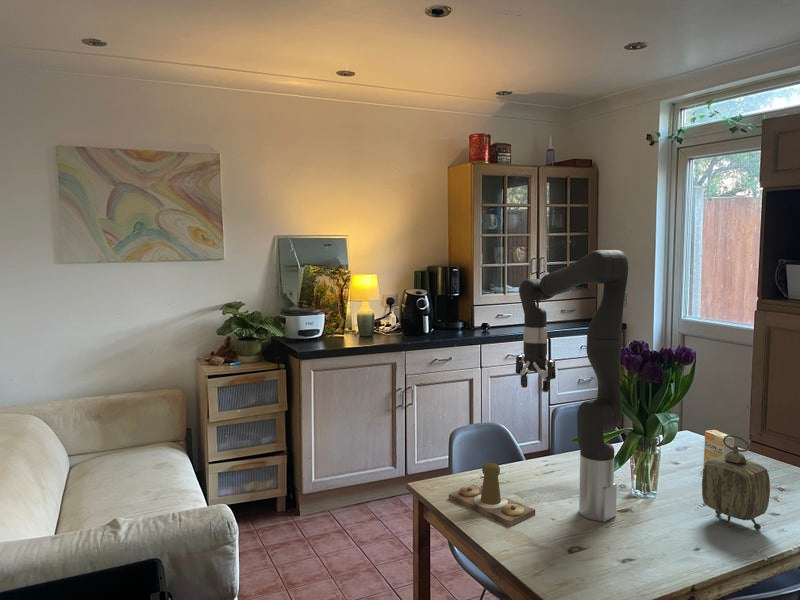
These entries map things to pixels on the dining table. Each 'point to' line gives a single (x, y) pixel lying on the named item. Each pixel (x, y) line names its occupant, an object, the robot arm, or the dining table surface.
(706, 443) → the supplement box
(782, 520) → the dining table surface
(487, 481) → the cork
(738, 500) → the tabletop clock
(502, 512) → the board
